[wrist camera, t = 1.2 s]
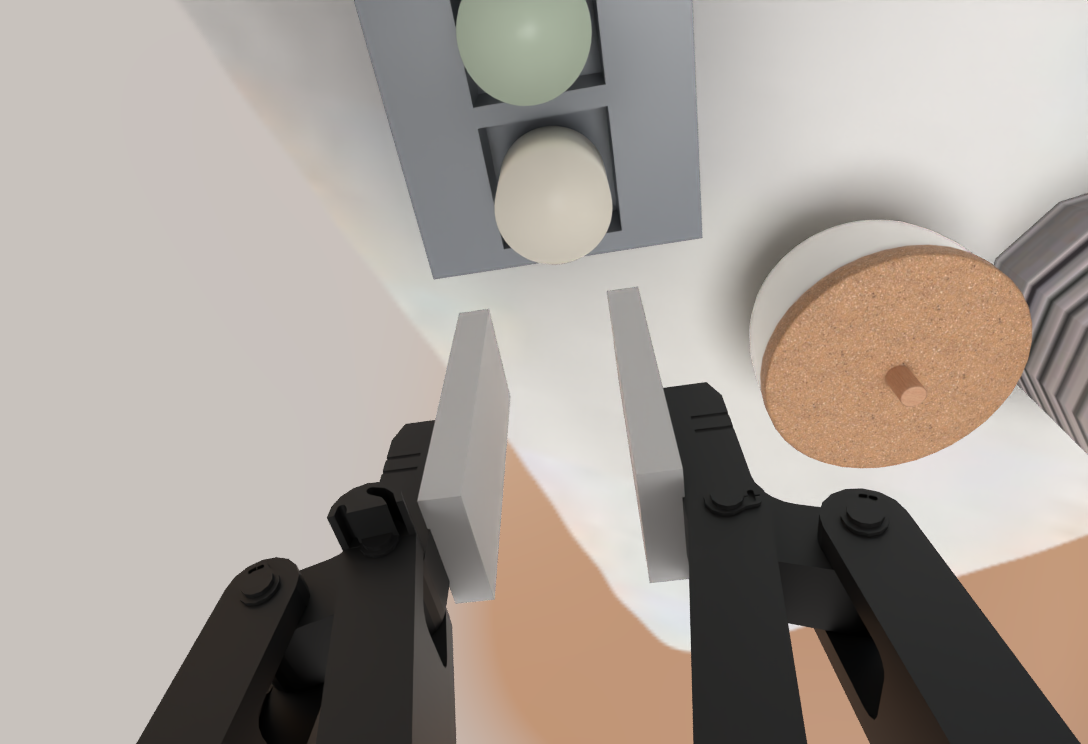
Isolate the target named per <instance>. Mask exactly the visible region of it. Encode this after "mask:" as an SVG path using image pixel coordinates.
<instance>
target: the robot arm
mask: <svg viewBox="0 0 1088 744" xmlns="http://www.w3.org/2000/svg"><path fill="white" fill-rule="evenodd" d="M607 295H608V303H609V310H610V318H611V326H612V333H613V341H614V349H615V356H616V364H617V371H618V379H619V386H620V392H621V399H622V405H623V412H624V418H625V425H626V431H627V438H628V444H629V451H630V457H631V464H632V470H633V477H634V483H635V490H636V496H637V503H638V509H639V516H640V522H641V529H642V535H643V542H644V548H645V555H646V561H647V568H648V574H649V581H650V583H654V582H664V581H673V580H683V579H689V589H690V627H691V662H692V663H691V666H692V703H693V741H694V744H807V740H806V734H805V727H804V721H803V715H802V708H801V702H800V696H799V690H798V684H797V677H796V671H795V665H794V658H793V652H792V646H791V639H790V633H789V627H788V623H790V624H795V625H801V626H806V627H811V628H814V629H815V632H816V633H817V635H818V638H819V640H820V642H821V644H822V646H823V648H824V650H825V652H826V654H827V656H828V658H829V660H830V662H831V664H832V666H833V668H834V671H835V673H836V674H837V677H838V679H839V681H840V683H841V685H842V687H843V689H844V691H845V693H846V695H847V697H848V699H849V701H850V703H851V705H852V707H853V709H854V711H855V714H856V716H857V718H858V720H859V722H860V724H861V726H862V728H863V730H864V732H865V734H866V736H867V738H868V740H869V742H870V744H1081V743H1080V742H1079V741H1078V740H1077V738H1076V737H1075V735H1074V734H1073V733H1072V732H1071V730H1070V729H1069V727H1068V726H1067V725H1066V723H1065V722H1064V721H1063V719H1062V718H1061V717H1060V715H1059V714H1058V713H1057V711H1056V710H1055V709H1054V707H1053V706H1052V705H1051V703H1050V702H1049V701H1048V699H1047V698H1046V697H1045V695H1044V694H1043V693H1042V691H1041V690H1040V689H1039V687H1038V686H1037V684H1036V683H1035V682H1034V681H1033V679H1032V678H1031V676H1030V675H1029V674H1028V672H1027V671H1026V670H1025V668H1024V667H1023V666H1022V665H1021V663H1020V662H1019V660H1018V659H1017V658H1016V656H1015V655H1014V654H1013V652H1012V651H1011V650H1010V648H1009V647H1008V646H1007V644H1006V643H1005V642H1004V640H1003V639H1002V638H1001V636H1000V635H999V634H998V632H997V631H996V630H995V628H994V627H993V626H992V624H991V623H990V622H989V620H988V619H987V618H986V616H985V615H984V614H983V612H982V611H981V609H980V608H979V607H978V606H977V604H976V603H975V602H974V600H973V599H972V597H971V596H970V595H969V593H968V592H967V591H966V589H965V588H964V587H963V586H962V584H961V583H960V582H959V580H958V579H957V577H956V576H955V575H954V573H953V572H952V571H951V569H950V568H949V567H948V565H947V564H946V563H945V561H944V560H943V559H942V557H941V556H940V555H939V553H938V552H937V551H936V549H935V548H934V547H933V545H932V544H931V543H930V541H929V540H928V539H927V537H926V536H925V535H924V533H923V532H922V530H921V529H920V528H919V526H918V525H917V524H916V522H915V521H914V520H913V518H912V517H911V516H910V514H909V513H908V512H907V510H906V509H904V508H903V507H902V506H901V505H900V504H899V503H898V502H897V501H896V500H894V499H892V498H890V497H888V496H886V495H884V494H882V493H880V492H876V491H872V490H867V489H845V490H842V491H839V492H836V493H833V494H831V495H830V496H829V497H828V498H827V499H826V500H825V501H824V502H822V506H821V507H814V506H806V505H798V504H793V503H788V502H784V501H781V500H779V499H776V498H774V497H772V496H770V495H768V494H767V493H765V492H764V490H763V489H762V488H761V487H760V486H758V485H757V484H756V483H755V482H754V480H753V478H752V477H751V474H750V471H749V469H748V466H747V463H746V461H745V458H744V455H743V452H742V450H741V447H740V444H739V441H738V439H737V436H736V433H735V430H734V428H733V425H732V422H731V419H730V417H729V415H728V411H727V409H726V406H725V403H724V400H723V398H722V395H721V394H720V393H718V392H717V391H716V390H715V389H714V388H713V387H711V386H710V385H709V384H708V383H707V382H704V383H697V384H689V385H682V386H674V387H667V388H663V386H662V382H661V378H660V374H659V370H658V366H657V362H656V358H655V354H654V350H653V346H652V341H651V337H650V333H649V329H648V325H647V321H646V317H645V313H644V309H643V305H642V301H641V297H640V293H639V289H638V287H632V288H625V289H619V290H612V291H607ZM509 408H510V393H509V389H508V385H507V381H506V377H505V373H504V369H503V364H502V360H501V356H500V352H499V348H498V344H497V340H496V336H495V331H494V327H493V323H492V319H491V315H490V311H489V309H484V310H477V311H471V312H464V313H459V317H458V321H457V326H456V330H455V335H454V339H453V343H452V348H451V352H450V357H449V361H448V366H447V370H446V375H445V379H444V384H443V388H442V393H441V397H440V402H439V406H438V411H437V415H436V420H432V421H424V422H418V423H410V424H405V425H404V426H403V428H402V429H401V430H400V431H399V433H398V434H397V435H396V436H395V437H394V438H393V440H392V442H391V445H390V449H389V452H388V455H387V461H386V462H385V465H384V469H383V474H382V475H381V479H380V482H376V483H367V484H364V485H362V486H359V487H356V488H353V489H352V490H350V491H349V492H347V493H346V494H344V495H343V496H341V497H340V498H339V499H338V501H336V503H335V504H334V505H333V506H332V507H331V509H330V512H329V514H328V516H327V519H328V521H329V523H330V525H331V527H332V529H333V531H334V533H335V535H336V538H337V539H338V542H339V544H340V545H341V547H342V550H343V552H342V553H341V554H339V555H337V556H335V557H333V558H331V559H329V560H326V561H324V562H321V563H318V564H316V565H313V566H311V567H308V568H305V569H302V570H300V571H299V569H298V567H297V566H296V564H294V563H293V562H292V561H290V560H289V559H285V558H277V557H275V558H271V559H265V560H261V561H260V562H258V563H255V564H253V565H251V566H249V567H247V568H246V569H245V570H243V571H242V572H241V573H240V574H238V575H237V576H236V577H235V578H234V579H233V580H232V582H231V583H230V584H229V585H228V587H227V588H226V590H225V591H224V593H223V594H222V596H221V598H220V600H219V601H218V603H217V605H216V607H215V608H214V610H213V612H212V614H211V615H210V617H209V619H208V620H207V622H206V624H205V626H204V627H203V629H202V631H201V633H200V635H199V636H198V638H197V639H196V641H195V643H194V645H193V646H192V648H191V650H190V652H189V654H188V655H187V657H186V659H185V660H184V662H183V664H182V665H181V667H180V669H179V671H178V673H177V674H176V676H175V678H174V679H173V681H172V683H171V685H170V686H169V688H168V690H167V691H166V693H165V695H164V697H163V699H162V700H161V702H160V704H159V705H158V707H157V709H156V711H155V712H154V714H153V716H152V717H151V719H150V721H149V723H148V724H147V726H146V728H145V730H144V731H143V733H142V735H141V737H140V738H139V740H138V742H137V743H136V744H456V724H455V694H454V666H453V638H452V624H451V620H450V617H449V614H448V611H447V609H446V604H447V597H448V590H449V587H450V590H451V592H452V595H453V598H454V601H455V603H456V604H457V603H467V602H476V601H485V600H494V599H495V587H496V575H497V562H498V561H497V560H498V549H499V535H500V523H501V510H502V498H503V484H504V472H505V458H506V446H507V433H508V421H509Z"/></svg>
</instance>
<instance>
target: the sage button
mask: <svg viewBox="0 0 1088 744" xmlns="http://www.w3.org/2000/svg"><path fill="white" fill-rule="evenodd" d="M591 36H592V28H591V19H590V13H589V10H588V6H587V3H586V1H585V0H461V3H460V6H459V10H458V15H457V23H456V38H457V44H458V49H459V53H460V56H461V59H462V61H463V64H464V66H465V68H466V69H467V71H468V73H469V75H470V76H471V77H472V79H473V80H474V81H475V82H476V83H477V85H478V86H479V87H480V88H481V89H483V90H484V91H485V92H486V93H487V94H489V95H491V96H492V97H494V98H496V99H498V100H500V101H502V102H505V103H508V104H512V105H518V106H532V105H538V104H542V103H545V102H548V101H550V100H552V99H554V98H556V97H558V96H559V95H561V94H562V93H563V92H565V91H566V90H567V89H568V88H569V87H570V86H571V85H572V84H573V83H574V82H575V80H576V79H577V78H578V76H579V75H580V73H581V71H582V70H583V68H584V65H585V63H586V61H587V58H588V54H589V51H590V45H591Z"/></svg>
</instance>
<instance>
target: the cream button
mask: <svg viewBox="0 0 1088 744" xmlns="http://www.w3.org/2000/svg"><path fill="white" fill-rule="evenodd" d="M494 206H495V219H496V223H497V226H498V229H499V231H500V233H501V235H502V237H503V238H504V240H505V241H506V242H507V244H508V245H509V246H510V247H511V248H512V249H513V250H514V251H516V252H517V253H518V254H520V255H521V256H523V257H525V258H526V259H529V260H531V261H534V262H537V263H541V264H550V265H557V264H565V263H569V262H572V261H575V260H578V259H580V258H582V257H584V256H585V255H587V254H588V253H590V252H591V251H592V250H593V249H594V248H595V247H596V246H597V245H598V244H599V243H600V242H601V240H602V239H603V237H604V236H605V234H606V232H607V230H608V228H609V225H610V222H611V217H612V198H611V193H610V188H609V184H608V180H607V175H606V171H605V167H604V163H603V160H602V157H601V155H600V153H599V152H598V150H597V149H596V147H595V146H594V145H593V143H592V142H591V141H590V140H589V139H587V138H586V137H585V136H584V135H582V134H581V133H579V132H577V131H575V130H573V129H570V128H566V127H561V126H545V127H540V128H536V129H534V130H531V131H529V132H527V133H526V134H524V135H523V136H521V137H520V138H519V139H517V140H516V141H515V142H514V143H513V145H512V146H511V147H510V148H509V150H508V152H507V153H506V155H505V157H504V160H503V162H502V166H501V170H500V176H499V181H498V186H497V192H496V197H495V205H494Z"/></svg>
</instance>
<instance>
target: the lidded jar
mask: <svg viewBox="0 0 1088 744" xmlns="http://www.w3.org/2000/svg"><path fill="white" fill-rule="evenodd" d="M749 339H750V354H751V359H752V364H753V368H754V372H755V376H756V379H757V382H758V385H759V387H760V390H761V393H762V397H763V401H764V405H765V408H766V410H767V412H768V414H769V416H770V418H771V421H772V423H773V425H774V427H775V428H776V430H777V431H778V432H779V433H780V435H781V436H782V437H783V439H784V440H785V441H787V442H788V443H789V444H790V445H791V446H792V447H794V448H795V449H796V450H798V451H800V452H801V453H803V454H805V455H807V456H808V457H810V458H813V459H816V460H818V461H821V462H824V463H828V464H832V465H837V466H841V467H851V468H879V467H886V466H892V465H898V464H902V463H906V462H910V461H914V460H917V459H920V458H922V457H925V456H928V455H930V454H933V453H935V452H937V451H939V450H942V449H944V448H946V447H948V446H950V445H952V444H954V443H955V442H957V441H958V440H960V439H962V438H963V437H965V436H966V435H968V434H969V433H971V432H972V431H973V430H975V429H976V428H977V427H979V426H980V425H981V424H982V423H984V422H985V421H986V420H987V419H988V418H989V417H990V416H991V415H992V414H993V413H994V412H995V411H996V410H997V409H998V408H999V407H1000V406H1001V405H1002V403H1003V402H1004V401H1005V400H1006V399H1007V397H1008V396H1009V395H1010V394H1011V392H1012V391H1013V389H1014V387H1015V386H1016V384H1017V382H1018V380H1019V379H1020V377H1021V375H1022V373H1023V370H1024V368H1025V366H1026V363H1027V361H1028V357H1029V352H1030V347H1031V342H1032V320H1031V315H1030V310H1029V307H1028V304H1027V302H1026V300H1025V298H1024V296H1023V294H1022V292H1021V291H1020V290H1019V288H1018V287H1017V286H1016V285H1015V283H1014V282H1013V281H1012V280H1011V279H1010V278H1009V277H1008V276H1007V275H1005V274H1004V273H1003V272H1001V271H1000V270H999V269H998V268H996V267H995V266H994V265H992V264H991V263H990V262H988V261H986V260H985V259H982V258H980V257H978V256H976V255H974V254H973V253H971V252H970V251H969V250H967V249H966V248H964V247H963V246H961V245H960V244H958V243H957V242H955V241H953V240H951V239H949V238H947V237H944V236H942V235H940V234H938V233H936V232H934V231H932V230H930V229H927V228H923V227H920V226H916V225H913V224H909V223H905V222H902V221H893V220H859V221H854V222H849V223H844V224H840V225H837V226H834V227H831V228H828V229H826V230H824V231H821V232H819V233H817V234H815V235H813V236H811V237H809V238H808V239H806V240H805V241H803V242H802V243H800V244H799V245H797V246H796V247H795V248H793V249H792V250H791V251H790V252H789V253H788V254H786V255H785V256H784V257H783V258H782V259H781V260H780V261H779V262H778V263H777V265H776V266H775V267H774V268H773V269H772V270H771V272H770V273H769V275H768V276H767V278H766V279H765V281H764V282H763V284H762V286H761V288H760V290H759V292H758V294H757V297H756V301H755V304H754V307H753V310H752V314H751V320H750V327H749Z"/></svg>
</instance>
